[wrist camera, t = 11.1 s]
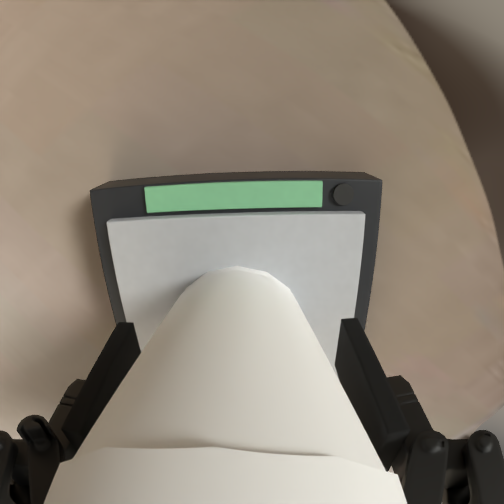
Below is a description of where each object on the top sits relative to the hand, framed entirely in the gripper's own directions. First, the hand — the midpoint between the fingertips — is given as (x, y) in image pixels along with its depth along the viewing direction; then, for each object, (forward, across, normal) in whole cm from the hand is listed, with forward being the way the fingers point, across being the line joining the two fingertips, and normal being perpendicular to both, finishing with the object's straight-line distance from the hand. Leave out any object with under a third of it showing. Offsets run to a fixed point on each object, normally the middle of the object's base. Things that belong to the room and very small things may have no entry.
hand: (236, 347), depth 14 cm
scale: (+5, 0, 0) cm, 5 cm away
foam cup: (+2, 0, 0) cm, 2 cm away
